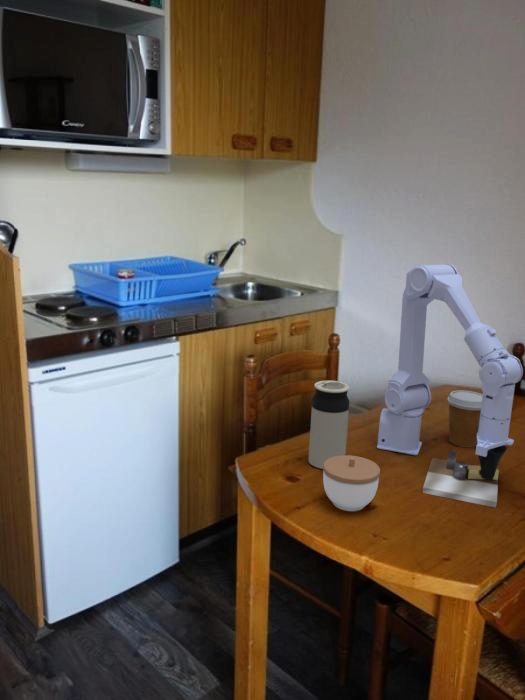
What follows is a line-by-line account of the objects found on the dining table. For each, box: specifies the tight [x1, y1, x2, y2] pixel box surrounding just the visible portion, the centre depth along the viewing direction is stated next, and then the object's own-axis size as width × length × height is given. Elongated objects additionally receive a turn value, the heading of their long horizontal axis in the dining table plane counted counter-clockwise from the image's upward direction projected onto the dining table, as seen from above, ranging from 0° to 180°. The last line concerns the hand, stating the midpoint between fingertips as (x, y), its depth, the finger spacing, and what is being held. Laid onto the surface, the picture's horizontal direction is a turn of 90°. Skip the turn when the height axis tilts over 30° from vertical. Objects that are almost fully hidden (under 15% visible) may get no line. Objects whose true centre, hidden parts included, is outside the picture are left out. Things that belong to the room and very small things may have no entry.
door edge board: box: [422, 457, 499, 508], centre depth 129 cm, size 14×16×1 cm
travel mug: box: [308, 379, 350, 470], centre depth 134 cm, size 8×8×18 cm
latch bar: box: [453, 461, 500, 481], centre depth 129 cm, size 9×3×3 cm, turn 90°
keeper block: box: [446, 450, 457, 470], centre depth 135 cm, size 2×4×2 cm, turn 158°
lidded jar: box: [322, 454, 381, 512], centre depth 118 cm, size 11×11×9 cm
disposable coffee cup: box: [446, 390, 483, 448], centre depth 150 cm, size 10×10×12 cm
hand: (487, 478), depth 127 cm, fingers closed, pressing on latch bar
